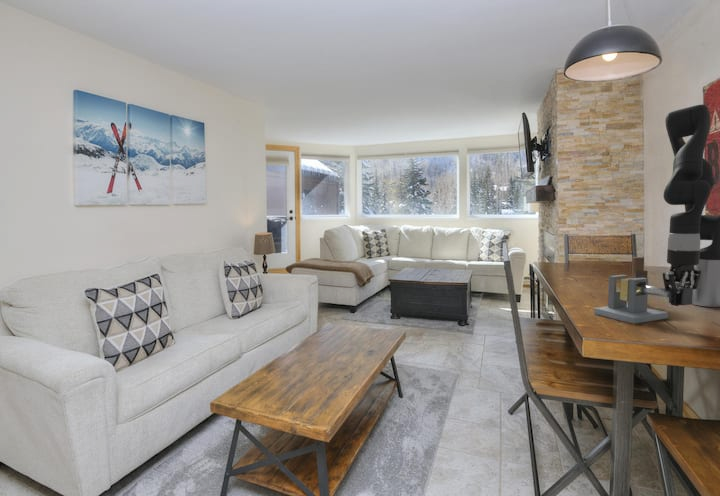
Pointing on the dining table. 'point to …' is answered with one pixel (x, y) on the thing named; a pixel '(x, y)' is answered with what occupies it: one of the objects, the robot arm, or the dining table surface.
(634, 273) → the wooden block
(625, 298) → the spacer
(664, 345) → the dining table surface
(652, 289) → the shaft
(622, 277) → the bracket
